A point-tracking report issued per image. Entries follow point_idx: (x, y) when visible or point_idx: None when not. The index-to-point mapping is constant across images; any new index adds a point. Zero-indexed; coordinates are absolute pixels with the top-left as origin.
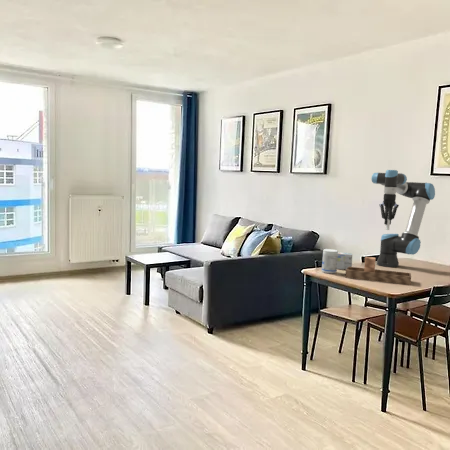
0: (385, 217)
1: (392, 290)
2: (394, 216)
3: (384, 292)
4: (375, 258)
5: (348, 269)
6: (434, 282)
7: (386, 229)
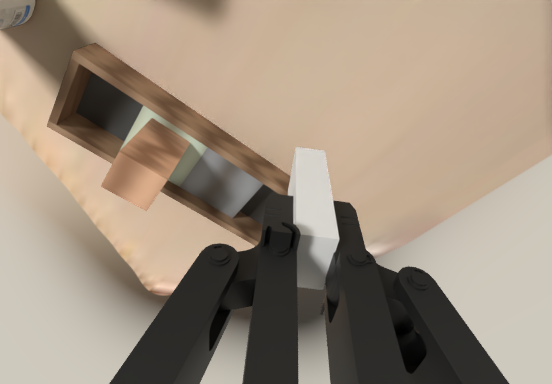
0: (242, 304)
1: (175, 269)
2: (421, 357)
3: (142, 278)
4: (162, 187)
5: (67, 101)
6: (391, 222)
7: (290, 179)
